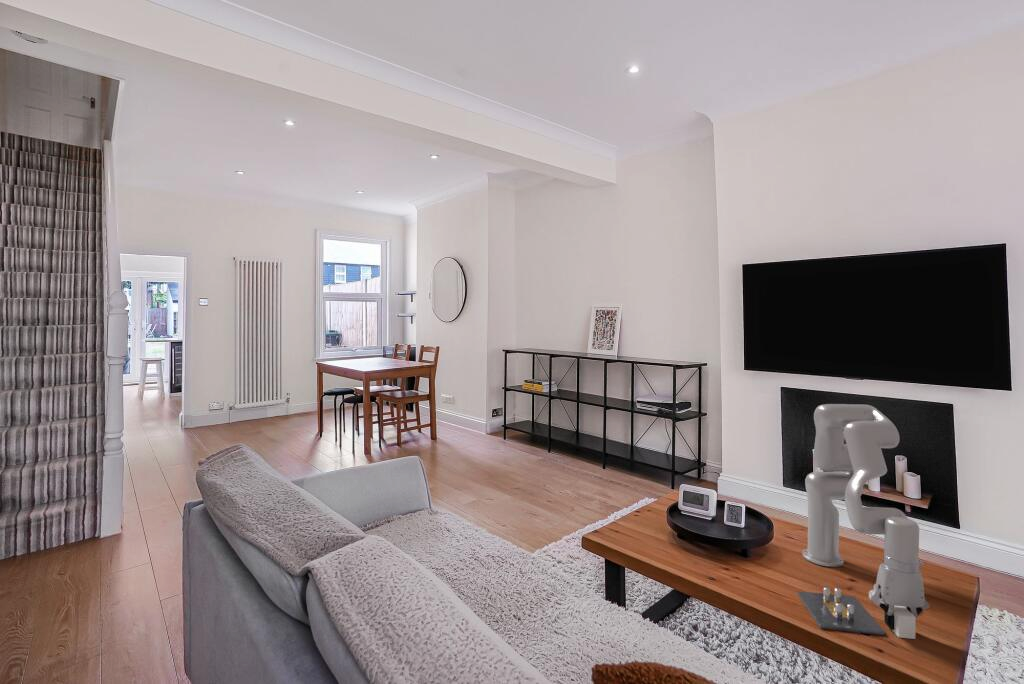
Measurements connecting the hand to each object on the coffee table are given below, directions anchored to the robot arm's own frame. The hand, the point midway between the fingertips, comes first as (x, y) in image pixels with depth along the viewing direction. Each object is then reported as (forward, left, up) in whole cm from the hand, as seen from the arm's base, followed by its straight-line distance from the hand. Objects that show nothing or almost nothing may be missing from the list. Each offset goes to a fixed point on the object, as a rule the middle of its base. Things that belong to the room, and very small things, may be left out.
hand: (899, 627), depth 139 cm
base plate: (-6, -13, -1) cm, 14 cm away
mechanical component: (-15, +5, -1) cm, 16 cm away
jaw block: (+1, 0, -1) cm, 1 cm away
